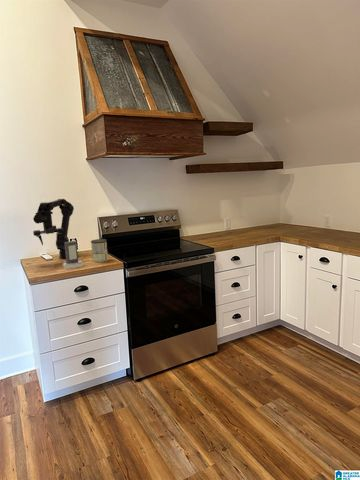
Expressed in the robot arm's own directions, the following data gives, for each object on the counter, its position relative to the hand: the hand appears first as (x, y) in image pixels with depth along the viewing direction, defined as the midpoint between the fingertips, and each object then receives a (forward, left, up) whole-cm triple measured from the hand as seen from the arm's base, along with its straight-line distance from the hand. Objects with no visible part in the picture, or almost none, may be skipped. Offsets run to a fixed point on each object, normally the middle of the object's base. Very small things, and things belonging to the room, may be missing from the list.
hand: (50, 244), depth 237 cm
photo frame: (-5, +20, -11) cm, 23 cm away
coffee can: (-24, +22, -13) cm, 35 cm away
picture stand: (-5, +20, -13) cm, 24 cm away
